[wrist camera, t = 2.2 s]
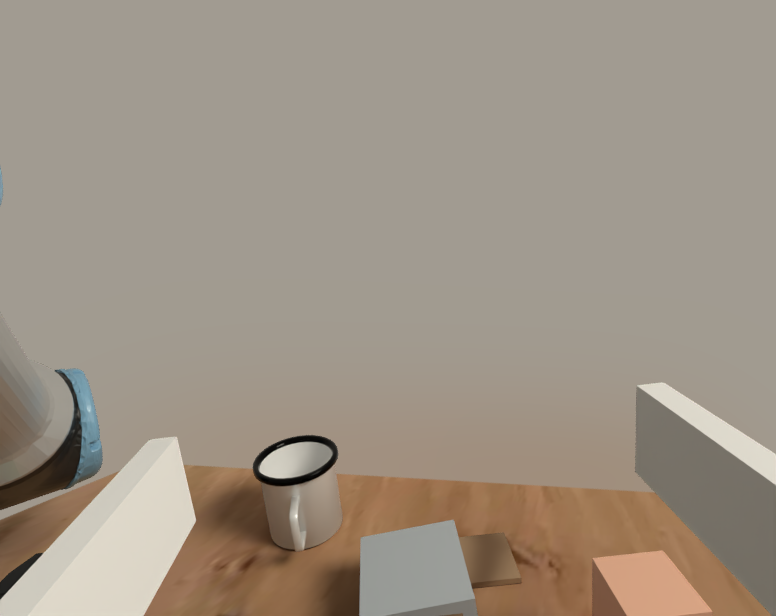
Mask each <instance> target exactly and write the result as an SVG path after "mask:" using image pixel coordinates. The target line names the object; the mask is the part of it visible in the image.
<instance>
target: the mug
mask: <svg viewBox="0 0 776 616" xmlns="http://www.w3.org/2000/svg"><path fill="white" fill-rule="evenodd" d="M337 459H338V450H337V446H336V445H335V443H334V442H333V441H331V440H329V439H327V438H325V437H321V436H315V435H305V436H297V437H292V438H288V439H285V440H282V441H279V442H277V443H275V444H273V445H271V446H269V447H268V448H266V449H264V451H262V452H261V453H260V454H259V455H258V456H257V457H256V459H255V461H254V463H253V473H254V476H255V477H256V479H257V480H259V481H260V482H261V486H262V492H263V497H264V502H265V508H266V513H267V518H268V524H269V529H270V534H271V538H272V540H273V541H274V542H275V543H276V544H277V545H279V546H281V547H283V548H287V549H294V550H295V551H296V552H299V551H303V550H304V549H306V548H311V547H314V546H316V545H319V544H321V543H323V542H325V541H327V540H328V539H329V538H331V537H332V536H333V535H334V534H335V533H336V532H337V531H338V529H339V528H340V526H341V523H342V518H343V516H342V510H341V503H340V496H339V490H338V483H337V476H336V470H335V462H336V460H337Z"/></svg>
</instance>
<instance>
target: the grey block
mask: <svg viewBox="0 0 776 616" xmlns="http://www.w3.org/2000/svg"><path fill="white" fill-rule="evenodd" d="M460 613H463V616H478V614H477V608H476V602H475V597H474V594H473V590H472V586H471V582H470V579H469V575H468V571H467V567H466V564H465V560H464V556H463V553H462V549H461V545H460V541H459V538H458V534H457V530H456V527H455V523H454V520H450V521H445V522H439V523H434V524H429V525H424V526H418V527H413V528H408V529H403V530H397V531H392V532H387V533H382V534H376V535H371V536H366V537H361V553H360V607H359V616H442V615H451V614H460Z"/></svg>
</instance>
